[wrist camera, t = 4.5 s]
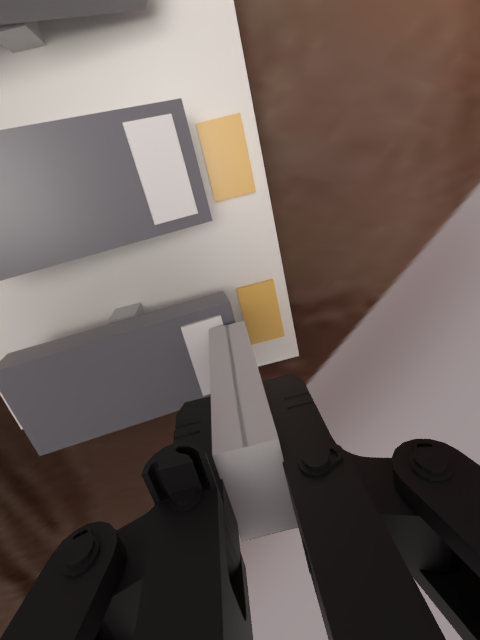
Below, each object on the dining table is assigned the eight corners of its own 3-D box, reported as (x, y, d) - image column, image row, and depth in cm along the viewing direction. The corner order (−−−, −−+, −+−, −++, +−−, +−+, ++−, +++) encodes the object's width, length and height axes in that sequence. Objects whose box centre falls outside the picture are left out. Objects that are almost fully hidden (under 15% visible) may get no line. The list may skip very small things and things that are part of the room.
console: (51, 387, 21) (5, 451, 16) (-166, -20, 14) (-384, -144, 9) (281, 326, 22) (308, 370, 17) (195, -102, 14) (195, -270, 9)
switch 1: (-42, 287, 12) (-64, 299, 10) (-114, 163, 10) (-152, 155, 9) (201, 219, 14) (213, 220, 13) (172, 110, 13) (182, 96, 11)
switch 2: (51, 431, 15) (38, 458, 13) (7, 353, 14) (-13, 374, 12) (243, 369, 16) (252, 388, 15) (223, 290, 15) (230, 302, 13)
